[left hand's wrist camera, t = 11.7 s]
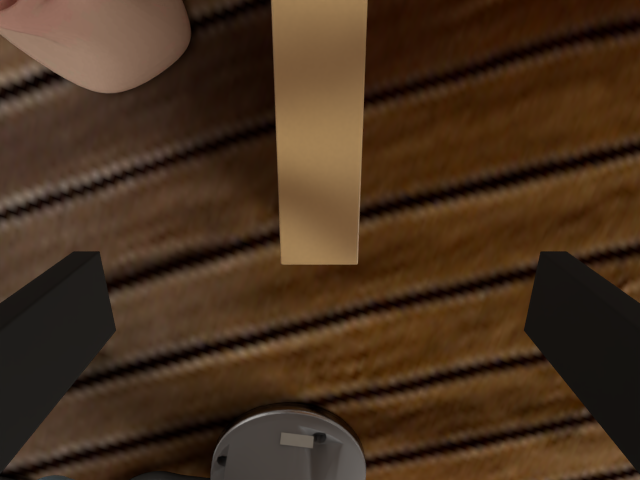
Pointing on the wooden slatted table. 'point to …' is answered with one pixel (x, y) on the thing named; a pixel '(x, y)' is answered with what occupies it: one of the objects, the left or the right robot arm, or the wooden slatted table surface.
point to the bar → (319, 127)
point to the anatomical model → (99, 38)
